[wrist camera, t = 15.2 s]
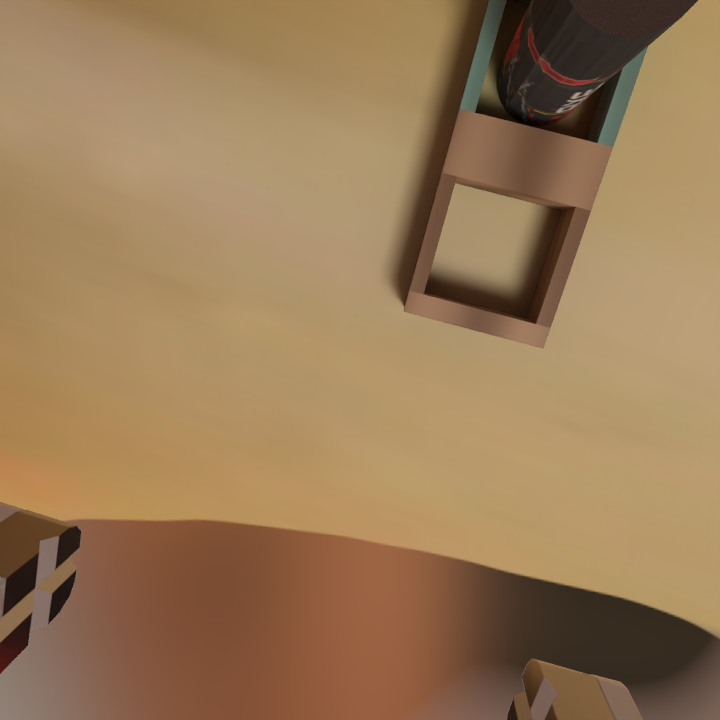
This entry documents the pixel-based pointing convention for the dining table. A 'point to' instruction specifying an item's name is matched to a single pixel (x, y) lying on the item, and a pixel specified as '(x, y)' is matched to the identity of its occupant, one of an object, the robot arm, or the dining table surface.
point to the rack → (520, 189)
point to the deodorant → (576, 51)
